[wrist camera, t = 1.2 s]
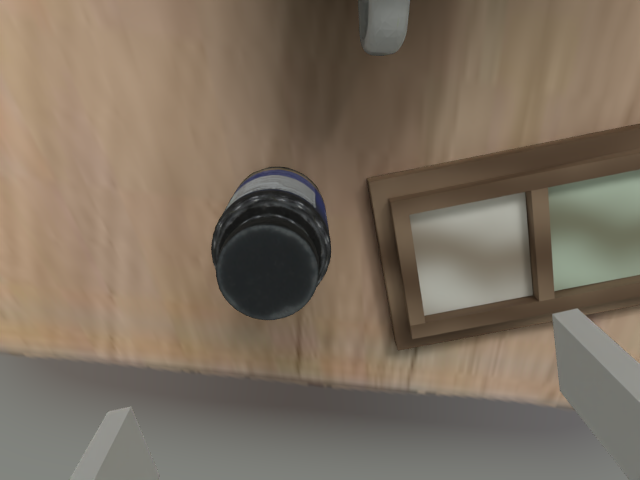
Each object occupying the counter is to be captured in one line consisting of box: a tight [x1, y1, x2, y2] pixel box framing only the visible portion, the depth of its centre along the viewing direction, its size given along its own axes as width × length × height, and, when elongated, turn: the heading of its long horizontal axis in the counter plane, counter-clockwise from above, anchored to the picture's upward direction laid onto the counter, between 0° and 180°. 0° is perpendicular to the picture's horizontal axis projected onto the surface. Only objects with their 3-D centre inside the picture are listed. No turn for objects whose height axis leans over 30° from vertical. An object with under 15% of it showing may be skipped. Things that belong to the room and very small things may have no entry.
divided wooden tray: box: [367, 124, 640, 350], centre depth 34 cm, size 12×20×2 cm, turn 101°
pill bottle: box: [211, 167, 331, 320], centre depth 29 cm, size 6×6×11 cm
